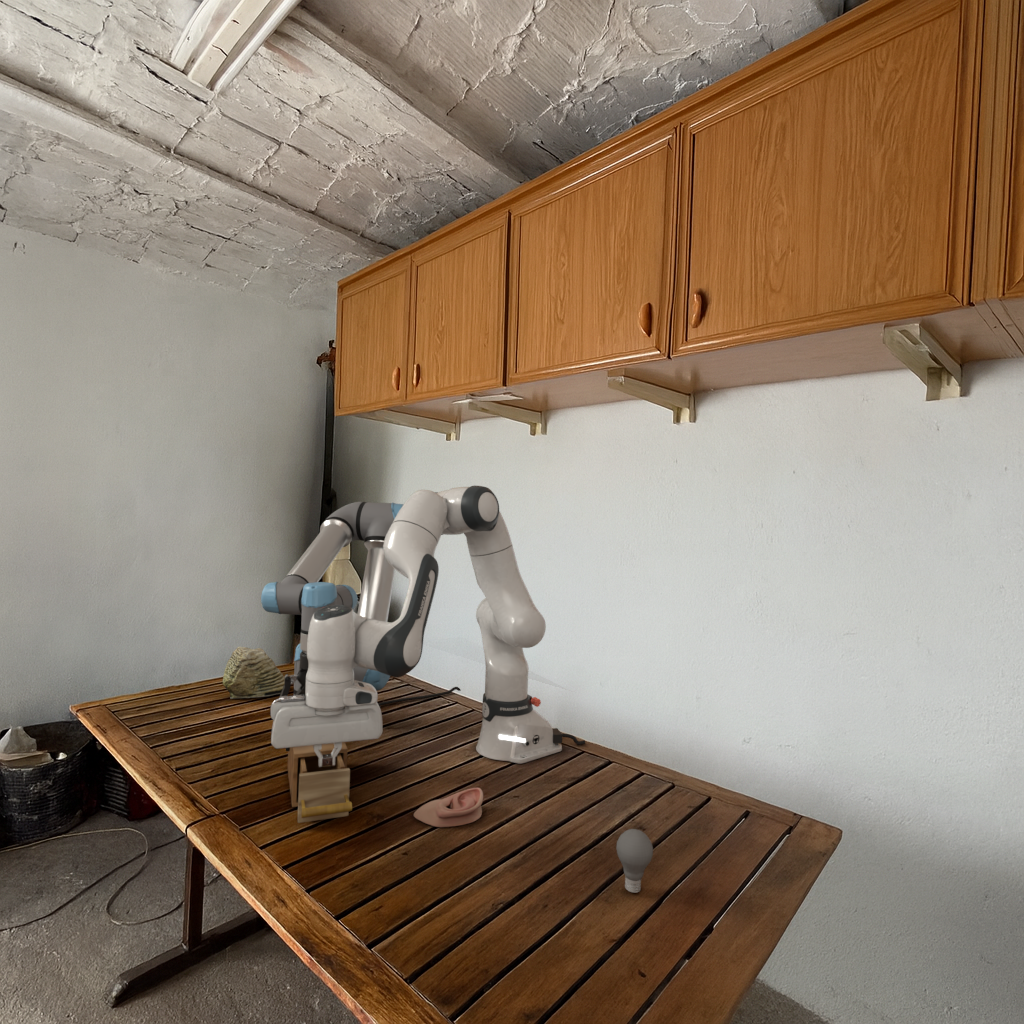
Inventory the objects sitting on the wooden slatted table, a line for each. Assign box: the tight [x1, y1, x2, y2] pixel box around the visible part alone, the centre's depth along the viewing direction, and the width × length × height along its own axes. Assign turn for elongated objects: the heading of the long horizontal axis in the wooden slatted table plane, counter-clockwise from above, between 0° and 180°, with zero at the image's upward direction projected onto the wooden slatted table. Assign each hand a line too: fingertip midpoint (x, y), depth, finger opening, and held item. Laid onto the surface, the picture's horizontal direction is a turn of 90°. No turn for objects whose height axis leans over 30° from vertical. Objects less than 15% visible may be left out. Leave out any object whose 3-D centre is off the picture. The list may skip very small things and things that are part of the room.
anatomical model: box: [413, 787, 484, 828], centre depth 129 cm, size 13×4×12 cm
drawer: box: [297, 753, 353, 824], centre depth 128 cm, size 24×9×9 cm, turn 22°
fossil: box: [222, 646, 285, 699], centre depth 198 cm, size 9×18×15 cm, turn 132°
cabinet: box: [287, 742, 348, 808], centre depth 140 cm, size 20×11×11 cm, turn 22°
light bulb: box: [615, 828, 654, 894], centre depth 106 cm, size 6×6×10 cm
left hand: (313, 746), depth 145 cm, fingers closed on cabinet, 11 cm apart
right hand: (326, 765), depth 120 cm, fingers closed
